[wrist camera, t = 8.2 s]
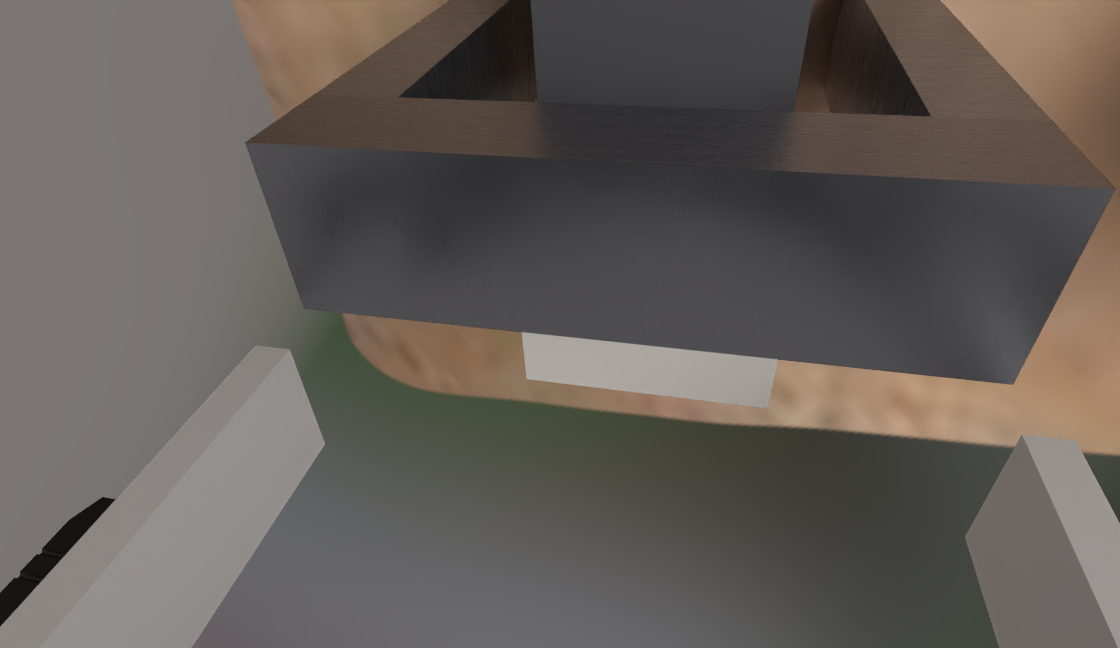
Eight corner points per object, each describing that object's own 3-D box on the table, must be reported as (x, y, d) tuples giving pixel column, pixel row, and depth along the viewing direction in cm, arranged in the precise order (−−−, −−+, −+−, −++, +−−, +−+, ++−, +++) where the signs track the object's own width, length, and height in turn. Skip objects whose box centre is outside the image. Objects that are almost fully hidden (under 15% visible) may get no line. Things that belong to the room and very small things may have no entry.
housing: (490, -29, 19) (244, 142, 10) (911, -31, 16) (1115, 188, 7) (501, 79, 20) (303, 308, 11) (881, 90, 18) (1012, 384, 9)
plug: (574, -218, 16) (463, -225, 10) (841, -235, 15) (908, -254, 8) (585, 261, 24) (530, 419, 18) (755, 275, 23) (759, 450, 17)
